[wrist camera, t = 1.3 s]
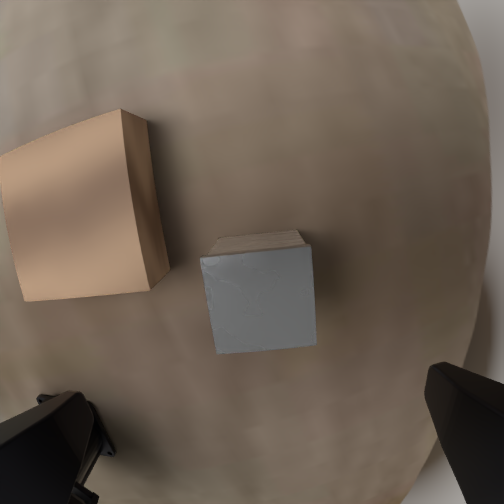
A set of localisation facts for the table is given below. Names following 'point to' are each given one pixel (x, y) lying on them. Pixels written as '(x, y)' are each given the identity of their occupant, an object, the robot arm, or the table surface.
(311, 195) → the table surface
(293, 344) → the grey cube
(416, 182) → the table surface
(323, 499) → the table surface
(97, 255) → the tan block
